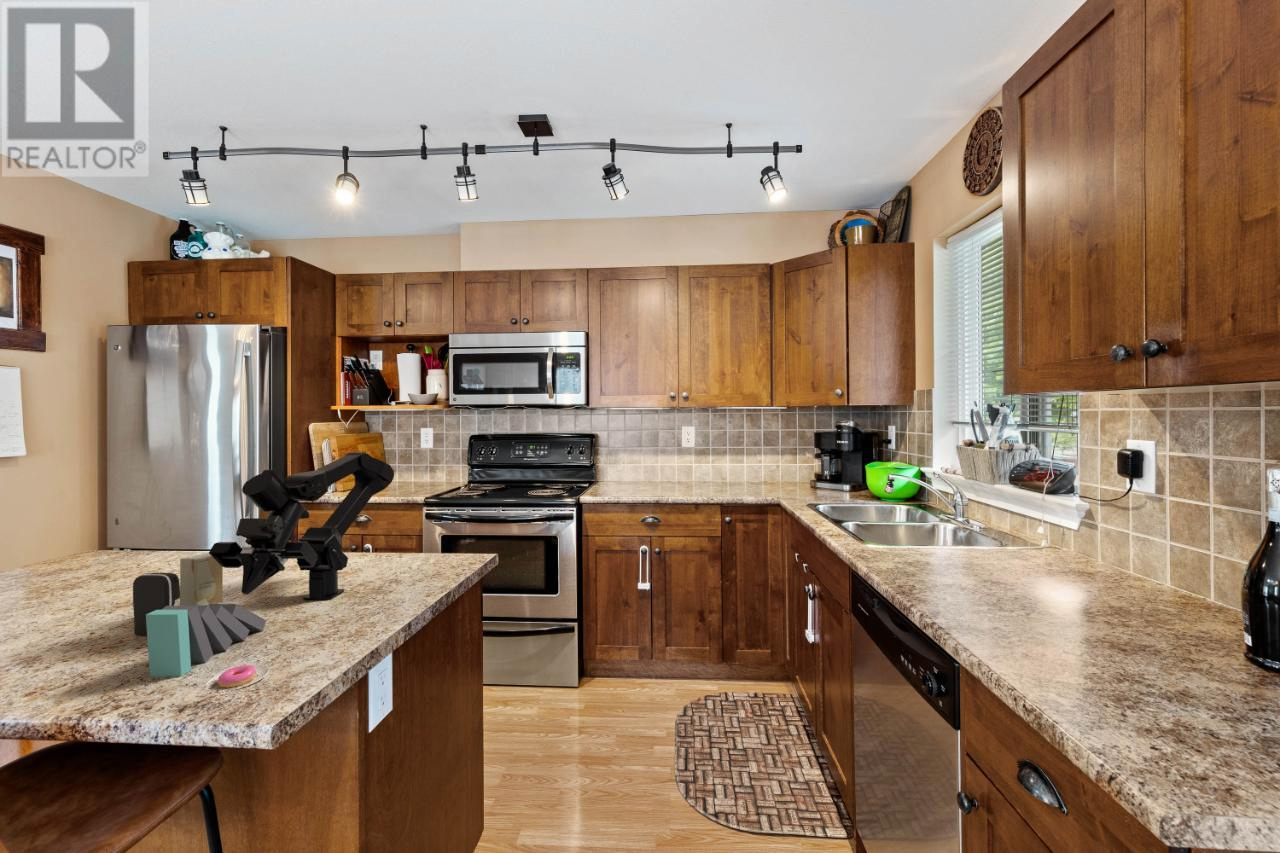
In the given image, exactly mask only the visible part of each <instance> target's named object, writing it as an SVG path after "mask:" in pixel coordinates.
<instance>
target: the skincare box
mask: <svg viewBox="0 0 1280 853" xmlns="http://www.w3.org/2000/svg"><path fill="white" fill-rule="evenodd" d="M179 560H180V561H179V568H180V569H179V576H180V577H179V583H180V598H179V605H209V604H224V603H223V600H224V598H223V595H224V594H223V587H224V585H223V582H224V580H223V579H224V578H223V568H224V567H222V566H221V565H220V564H219V563H218V562H217V561H216V560H215V559H214V558H213V557H212V556H211V555H210V554H209V552H204V553H199V554H195V555H194V554H193V555H191V556H187V557H182V558H180V559H179Z"/></svg>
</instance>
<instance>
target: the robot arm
mask: <svg viewBox="0 0 1280 853" xmlns="http://www.w3.org/2000/svg"><path fill="white" fill-rule="evenodd" d="M350 475H351V476H353V477H354V478H353V479H354V485H353V487H352V488H351V489H350V491H349V493H348V494H347V495H346V496H345V497H344V498H343V500H342V501H341V502H340V504H339V505H338V506H337V507H336V509H335V510H334V511H333V513H332V514H331V515H330V517H329V518H328V519H327V520H326V521H325V522H324V524H323V525H322V526H321V527H318V526H317V527H316V526H315V527H313V526H310V527H309V528H308V529H306V531H305V533H304V534H303V535H302V537H300V538H299V539H298V540H297V541H294V540H295V538H296V535H295V534H294V531H295V529H296V528H297V525H298V524H299V522H300V520H303V519H309V518H310V513H309V511H308V510H307V506H306V505H303V504H302V503H301V502H316V501H318V500H319V499H321V498H322V497H323V496H324V495H325V494H326V493H328V491H329V488H330V487H331V486H332V485H334V484H335V483H338V482H339V481H341V480H343V479H345V478H347V477H349V476H350ZM394 478H395V470H394V469H393V468H392V466H391V465H390V464H389V463H387V462H384V461H383V460H380V459H377V458H375V457H373V456H371V455H370V454H368V452H367V453H366V452H364V451H362V452H361V451H360V452H359V451H356V452H355V451H353V452H352V451H351V452H348V453H346V454H344V456H342V457H339V458H337V459H336V460H334V461H330V462H329V463H327V464H325V465H323V466H321V467H319V468H317V469H315V470H311V471H304V472H298V473H293V474H289V475H287V476H286V477H285V478H284V479H283V480H281V478H280V477H279V475H278V473H276V471H274V469H264V470H263V471H262V472H261V473H259V474H257V475H254V476H253V477H251V478H249V480H247V481H245V482H244V484H243V485H242V488H241V491H242V493H243V494H244V496H245V497H246V498H248V500H250V501H251V503H253V505H255V507H256V508H258V509H259V510H260V511H261V512H265V513H267V512H269V513H268V514H267V516H266V518H259V517H257V518H255V517H254V518H252V517H251V518H249V517H245V518H242V517H241V518H239V521H238V526H237V529H236V532H235V536H237V537H242V538H244V539H245V538H246V539H245V541H244V542H245V543H246V545H248V546H240V545H239V544H238V542H237V541H219V542H218V541H217V542H215V543H213V545H212V547H210V550H209V551H208V553H209V554H210V555H211V556H212V557H213V558H214V559H215V560H216V561H217V562H218V563H219V564H220V565H221V566H222V567H223V568H225V569H239V568H241V567H242V580H241V581H242V583H241V593H242V594H243V595H249V594H251V593H252V592H253V591H254V590H256V589H257V588H258V587H260V586H261V585H262V584H264V583H265V582H266V581H267V580H269V579H270V578H272V577H274V576H275V575H276V574H278V573H279V572H283V571H284V570H286V567H285V564H286V562H288V560H289V559H291V560H293V559H296V564H297V566H298V567H299V571H309V572H308V594H306V595H304V596H302V600H332V599H333V598H336V597H338V596H339V595H341V594H342V593H344V592H345V589H344V588H339V574H338V573H339V571H343V570H344V569H346V568H347V566H348V561H349V558H348V556H347V555H346V554H345V553H344V552H343V551H342V549H343V537H344V535H345V534H346V532H347V531H348V530H349V528H350V527H351V526H352V525H353V523H354V522H355V520H356V519H357V518H358V516H359V515H360V513H361V512H362V511H363V509H364V508H365V506H366V505H367V504H368V502H369V501H370V500H371V498H372V497H373V496H375V495H376V494H378V493H380V492H382V491H384V490H386V488H388V487H389V485H391V483H392V482H393V480H394Z"/></svg>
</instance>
